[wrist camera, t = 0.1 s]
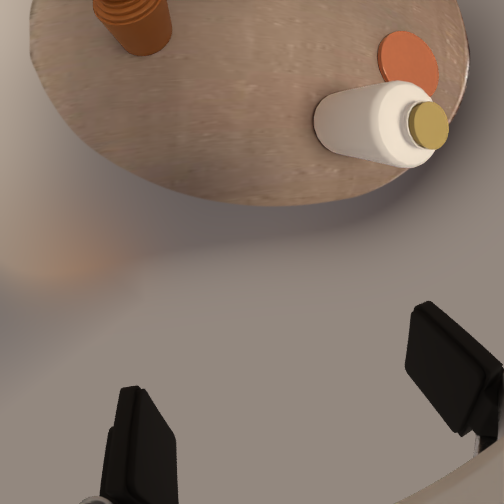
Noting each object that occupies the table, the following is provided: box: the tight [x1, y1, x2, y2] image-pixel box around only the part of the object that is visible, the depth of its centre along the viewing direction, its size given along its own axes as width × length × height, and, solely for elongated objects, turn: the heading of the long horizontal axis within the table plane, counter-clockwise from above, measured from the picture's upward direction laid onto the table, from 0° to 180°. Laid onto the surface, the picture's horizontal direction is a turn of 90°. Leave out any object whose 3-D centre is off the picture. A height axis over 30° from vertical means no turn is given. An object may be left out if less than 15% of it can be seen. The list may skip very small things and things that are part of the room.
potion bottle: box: [314, 80, 448, 168], centre depth 29 cm, size 8×8×18 cm
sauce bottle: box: [93, 0, 172, 56], centre depth 21 cm, size 6×6×18 cm
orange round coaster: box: [378, 31, 439, 97], centre depth 35 cm, size 11×11×1 cm
